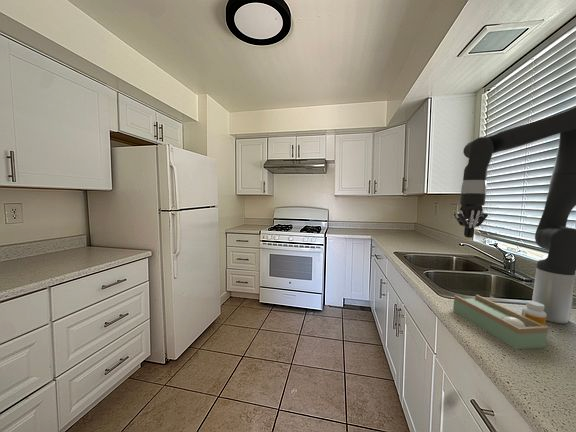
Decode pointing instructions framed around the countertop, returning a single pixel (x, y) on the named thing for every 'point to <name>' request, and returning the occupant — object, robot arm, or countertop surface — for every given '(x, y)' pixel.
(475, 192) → the robot arm
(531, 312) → the supplement bottle
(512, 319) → the ball
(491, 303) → the runway
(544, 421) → the countertop surface
